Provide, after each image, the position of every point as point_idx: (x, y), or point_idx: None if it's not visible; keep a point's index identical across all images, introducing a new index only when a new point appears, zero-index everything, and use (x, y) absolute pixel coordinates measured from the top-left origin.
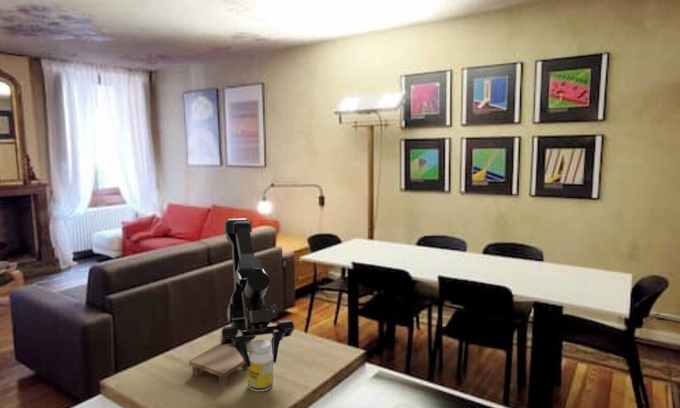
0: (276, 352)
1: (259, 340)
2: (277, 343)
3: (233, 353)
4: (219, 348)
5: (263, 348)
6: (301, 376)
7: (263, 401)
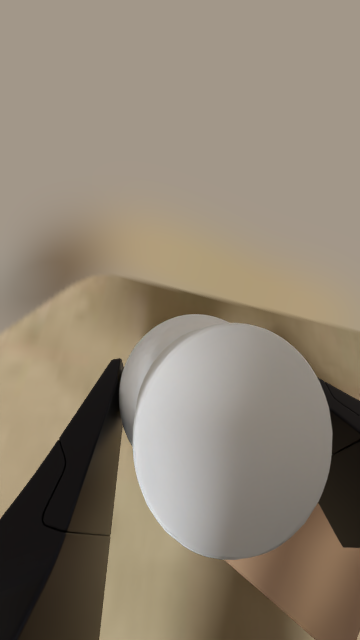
0: (91, 400)
1: (265, 526)
2: (37, 495)
3: (284, 544)
4: (342, 599)
5: (219, 324)
6: (27, 405)
7: (170, 291)
